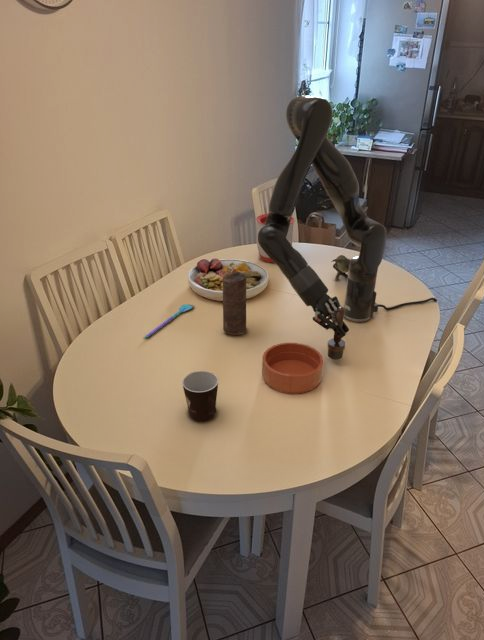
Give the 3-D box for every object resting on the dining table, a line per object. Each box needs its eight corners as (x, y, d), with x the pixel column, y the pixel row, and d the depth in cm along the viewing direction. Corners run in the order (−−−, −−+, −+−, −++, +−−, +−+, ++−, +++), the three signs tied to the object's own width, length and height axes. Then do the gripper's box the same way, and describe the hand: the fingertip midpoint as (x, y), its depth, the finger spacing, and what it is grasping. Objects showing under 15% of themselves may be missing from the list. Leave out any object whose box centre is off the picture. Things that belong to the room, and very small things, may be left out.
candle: (243, 339, 153) (243, 281, 142) (220, 336, 154) (218, 278, 144) (248, 327, 160) (249, 270, 149) (226, 324, 161) (225, 268, 150)
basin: (308, 356, 146) (309, 339, 143) (330, 388, 133) (333, 370, 130) (255, 364, 142) (255, 346, 139) (272, 399, 129) (273, 380, 125)
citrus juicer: (251, 265, 203) (252, 217, 192) (259, 249, 217) (259, 204, 206) (289, 268, 201) (292, 220, 190) (294, 252, 215) (296, 207, 204)
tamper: (339, 349, 145) (345, 301, 137) (346, 359, 141) (353, 310, 133) (323, 352, 144) (328, 304, 135) (330, 361, 140) (336, 312, 131)
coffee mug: (185, 402, 126) (183, 371, 121) (219, 401, 127) (218, 370, 122) (183, 433, 117) (180, 401, 111) (219, 432, 117) (218, 399, 112)
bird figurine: (341, 264, 203) (336, 232, 186) (363, 270, 199) (361, 237, 182) (328, 290, 198) (322, 259, 181) (351, 296, 194) (347, 265, 177)
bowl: (283, 282, 189) (283, 263, 185) (238, 313, 168) (238, 292, 163) (220, 264, 202) (219, 246, 198) (171, 291, 181) (170, 271, 177)
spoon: (185, 304, 172) (185, 301, 171) (195, 306, 171) (195, 303, 170) (144, 338, 152) (144, 335, 152) (156, 341, 151) (155, 337, 150)
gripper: (307, 288, 128) (346, 340, 130) (327, 269, 138) (363, 318, 140) (288, 301, 133) (326, 351, 135) (308, 282, 143) (343, 329, 145)
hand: (344, 334), depth 138 cm, fingers closed on tamper
